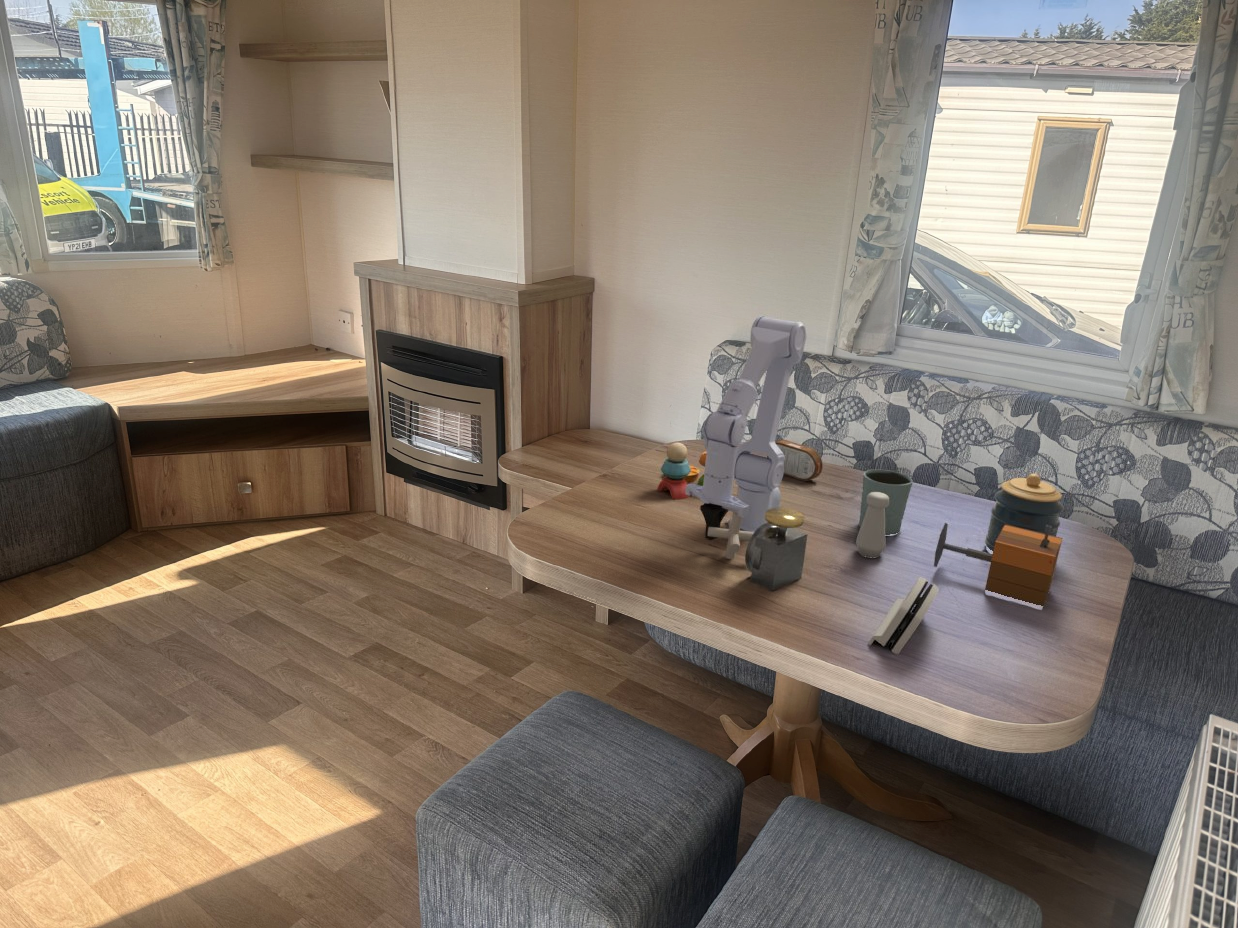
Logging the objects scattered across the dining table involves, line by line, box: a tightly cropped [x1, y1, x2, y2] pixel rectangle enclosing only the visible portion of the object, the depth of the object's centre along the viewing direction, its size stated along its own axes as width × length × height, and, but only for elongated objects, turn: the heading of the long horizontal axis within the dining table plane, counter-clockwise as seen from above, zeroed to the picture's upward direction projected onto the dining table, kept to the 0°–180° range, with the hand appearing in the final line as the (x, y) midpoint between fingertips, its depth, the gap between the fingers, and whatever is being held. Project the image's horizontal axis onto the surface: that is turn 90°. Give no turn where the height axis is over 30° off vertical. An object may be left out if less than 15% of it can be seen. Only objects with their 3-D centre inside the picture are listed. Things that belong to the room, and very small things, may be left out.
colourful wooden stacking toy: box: [657, 442, 707, 500], centre depth 207 cm, size 18×17×12 cm
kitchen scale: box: [744, 507, 808, 592], centre depth 162 cm, size 10×8×13 cm
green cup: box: [858, 469, 913, 535], centre depth 189 cm, size 10×10×12 cm
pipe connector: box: [708, 512, 754, 560], centre depth 170 cm, size 10×10×10 cm
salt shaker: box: [855, 492, 889, 559], centre depth 176 cm, size 6×6×13 cm
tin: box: [766, 439, 824, 482], centre depth 219 cm, size 15×3×8 cm, turn 46°
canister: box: [984, 473, 1064, 551], centre depth 179 cm, size 13×13×18 cm
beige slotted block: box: [867, 576, 940, 655], centre depth 147 cm, size 17×5×10 cm, turn 150°
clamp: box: [933, 522, 1063, 607], centre depth 165 cm, size 11×20×14 cm, turn 58°
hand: (711, 538), depth 174 cm, fingers closed, pressing on pipe connector
